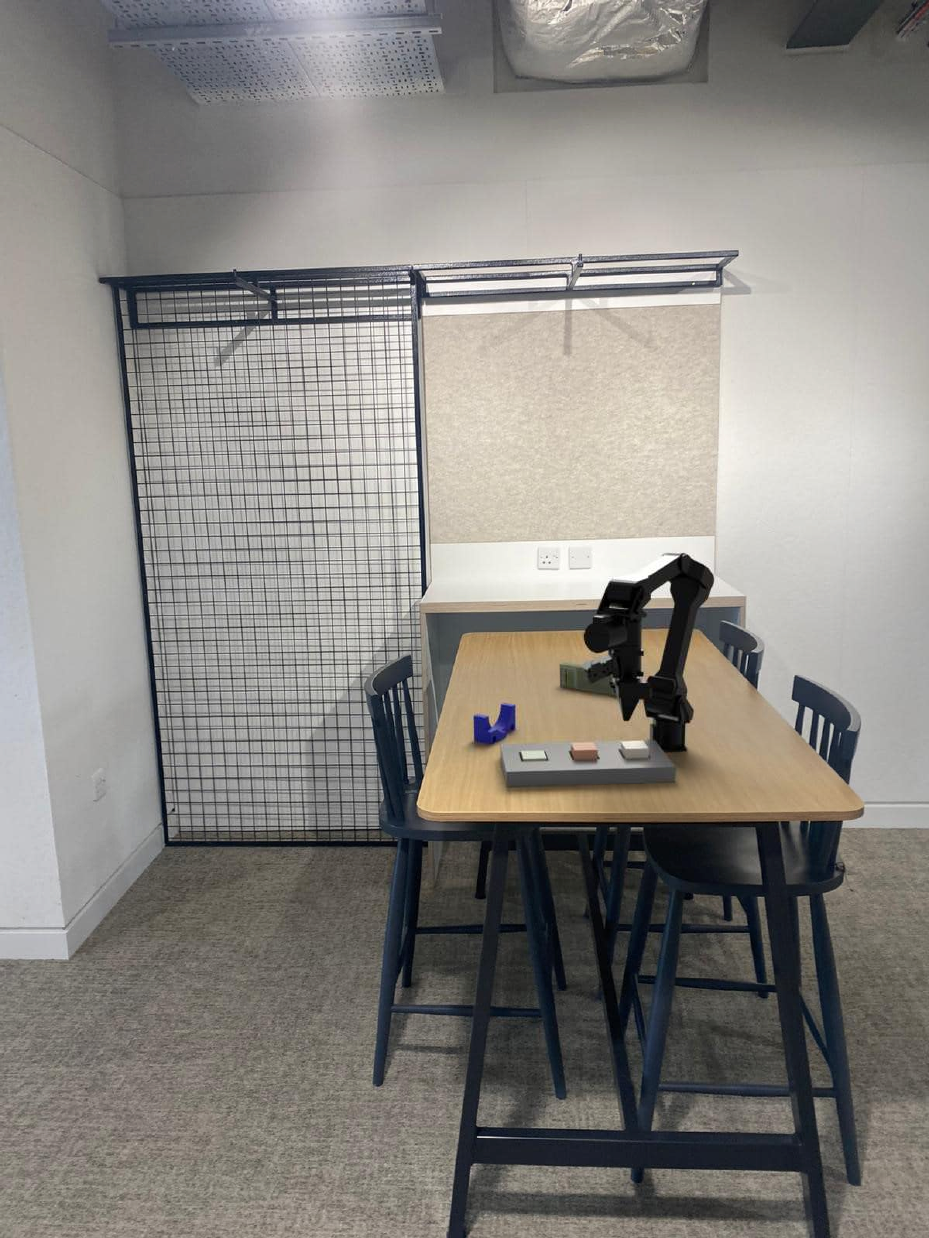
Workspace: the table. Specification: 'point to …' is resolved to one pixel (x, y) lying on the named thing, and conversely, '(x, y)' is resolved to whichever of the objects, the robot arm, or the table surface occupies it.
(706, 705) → the table surface
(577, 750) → the peach square block
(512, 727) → the cable clip
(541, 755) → the sage key
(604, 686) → the handheld radio
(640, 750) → the cream key
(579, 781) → the keypad
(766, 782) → the table surface
